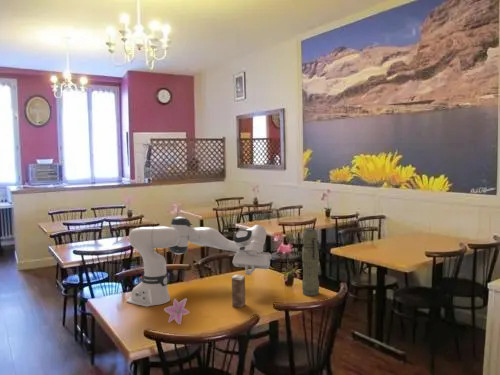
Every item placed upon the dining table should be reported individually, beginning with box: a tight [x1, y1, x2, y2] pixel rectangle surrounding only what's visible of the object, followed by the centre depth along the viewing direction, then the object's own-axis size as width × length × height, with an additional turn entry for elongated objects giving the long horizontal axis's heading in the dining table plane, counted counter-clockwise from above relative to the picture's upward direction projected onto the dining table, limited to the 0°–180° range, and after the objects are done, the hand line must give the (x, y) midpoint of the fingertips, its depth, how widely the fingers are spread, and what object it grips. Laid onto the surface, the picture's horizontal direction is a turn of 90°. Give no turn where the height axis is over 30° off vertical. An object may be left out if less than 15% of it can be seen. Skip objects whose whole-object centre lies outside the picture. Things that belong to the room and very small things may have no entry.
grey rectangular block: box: [231, 274, 246, 309], centre depth 216 cm, size 5×5×15 cm
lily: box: [163, 298, 190, 325], centre depth 199 cm, size 12×12×10 cm
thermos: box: [301, 227, 320, 297], centre depth 232 cm, size 9×12×35 cm
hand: (248, 274), depth 228 cm, fingers closed
